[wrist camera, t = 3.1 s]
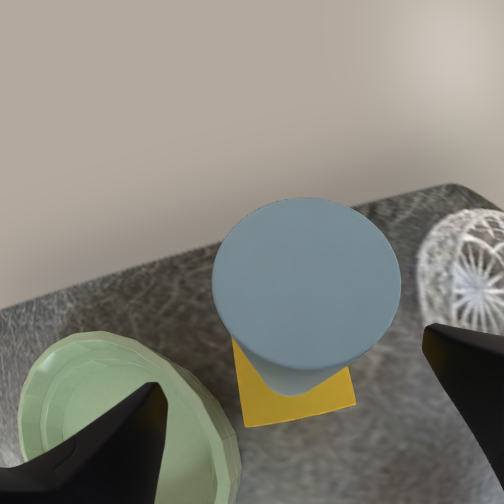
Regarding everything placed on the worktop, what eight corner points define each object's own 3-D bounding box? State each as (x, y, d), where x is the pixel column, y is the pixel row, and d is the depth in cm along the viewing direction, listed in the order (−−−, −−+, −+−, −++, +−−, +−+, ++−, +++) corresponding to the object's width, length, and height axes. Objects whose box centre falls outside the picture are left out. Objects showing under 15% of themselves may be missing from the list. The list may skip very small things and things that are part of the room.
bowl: (224, 561, 8) (209, 591, 4) (51, 483, 11) (14, 484, 7) (259, 373, 16) (251, 361, 12) (77, 330, 18) (42, 309, 15)
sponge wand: (336, 405, 14) (496, 375, 2) (255, 421, 14) (150, 467, 2) (319, 332, 17) (384, 147, 5) (244, 347, 17) (152, 184, 5)
